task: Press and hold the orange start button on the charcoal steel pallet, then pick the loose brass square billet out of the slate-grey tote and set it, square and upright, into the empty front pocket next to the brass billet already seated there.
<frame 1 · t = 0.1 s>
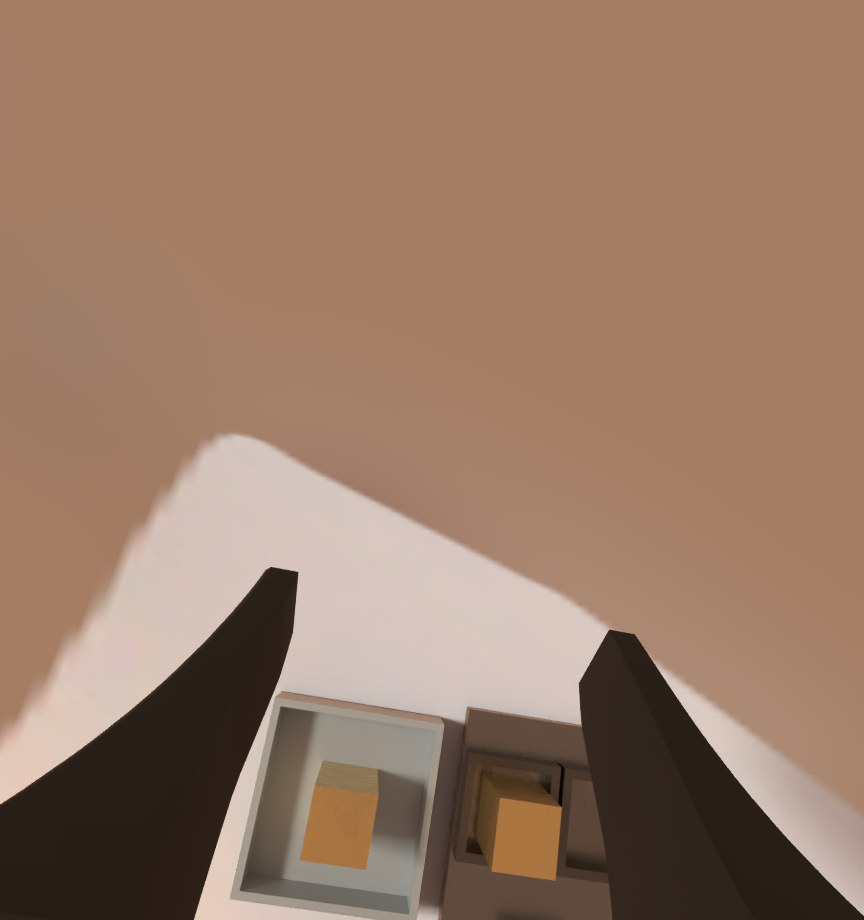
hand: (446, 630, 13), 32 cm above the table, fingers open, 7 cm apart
tote: (344, 792, 40), on the table
pallet: (541, 870, 40), on the table
billet: (344, 795, 39), point 1 cm above the table, touching tote
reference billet: (504, 805, 40), point 1 cm above the table, touching pallet
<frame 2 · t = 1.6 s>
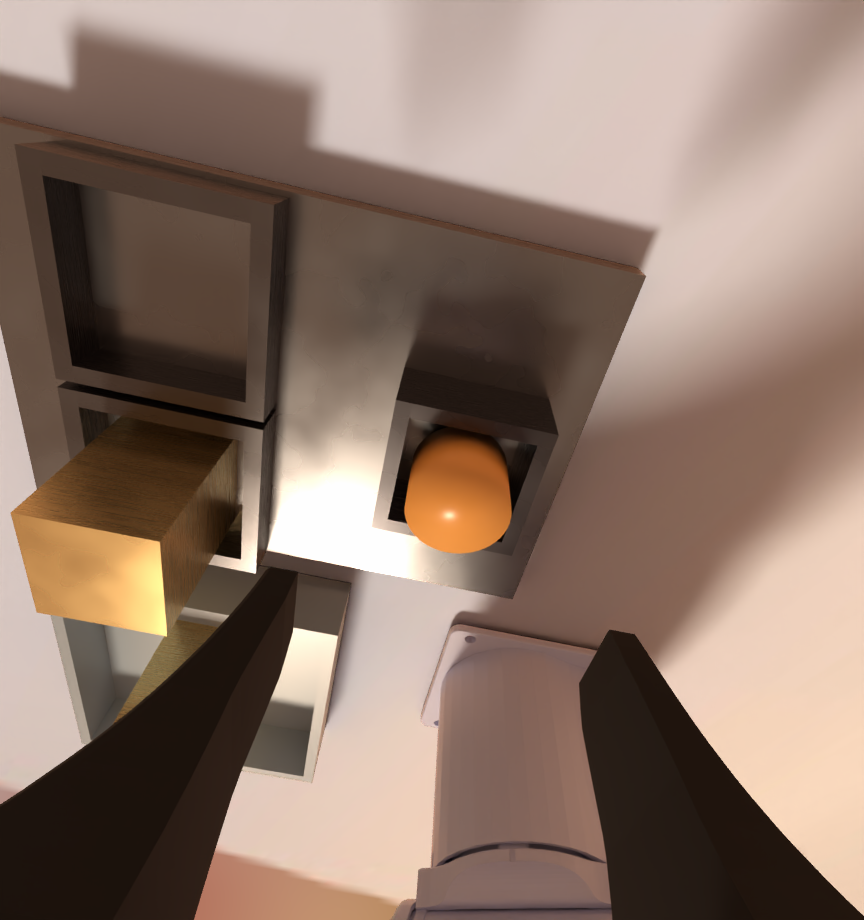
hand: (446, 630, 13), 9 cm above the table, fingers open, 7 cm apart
tote: (220, 643, 28), on the table
pallet: (302, 397, 20), on the table
billet: (215, 652, 28), point 1 cm above the table, touching tote
start button: (458, 489, 18), point 4 cm above the table, slide at 0.0 cm
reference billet: (184, 466, 21), point 1 cm above the table, touching pallet
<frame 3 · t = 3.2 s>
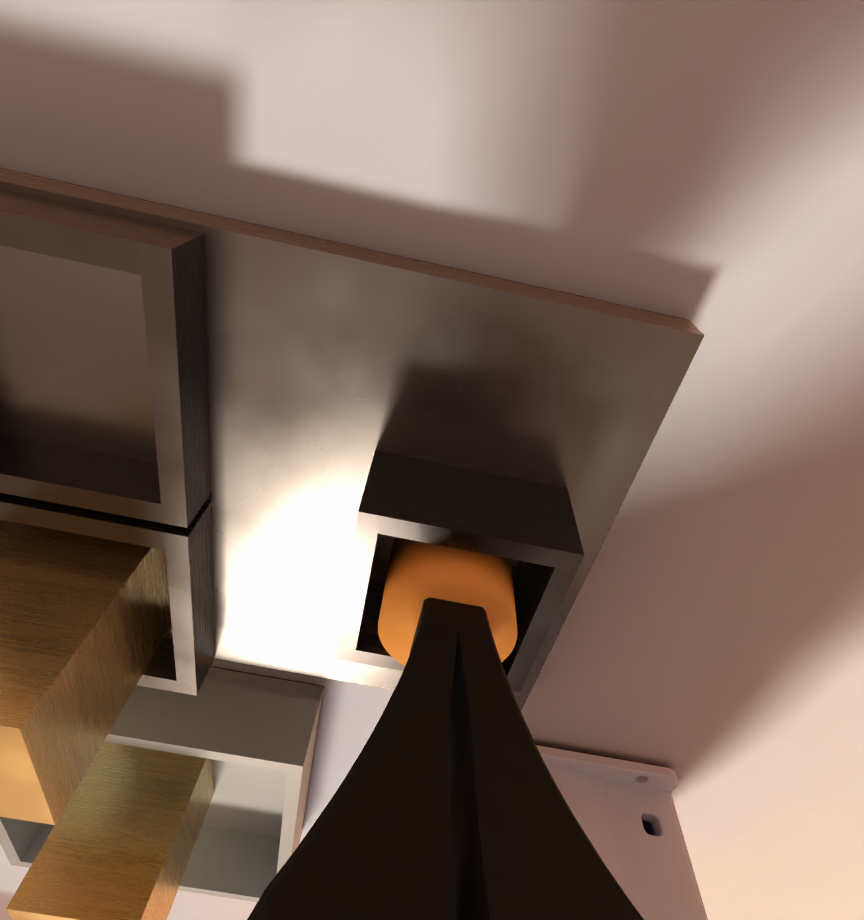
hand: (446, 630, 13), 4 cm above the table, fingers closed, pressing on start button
tote: (172, 746, 24), on the table
pallet: (247, 480, 16), on the table
billet: (166, 760, 23), point 1 cm above the table, touching tote
start button: (448, 593, 14), point 3 cm above the table, slide at 0.9 cm, touching gripper
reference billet: (102, 566, 17), point 1 cm above the table, touching pallet
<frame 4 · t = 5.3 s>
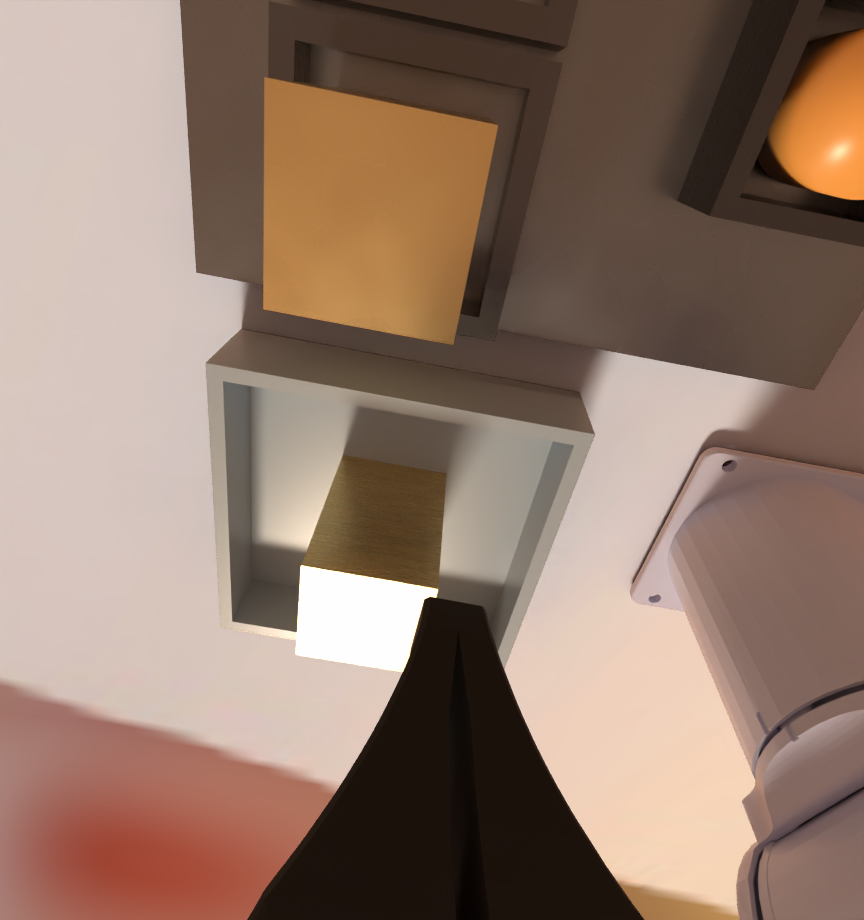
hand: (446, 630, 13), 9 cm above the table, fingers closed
tote: (390, 496, 23), on the table
pallet: (575, 67, 15), on the table
billet: (388, 505, 22), point 1 cm above the table, touching tote
start button: (852, 114, 12), point 3 cm above the table, slide at 1.0 cm
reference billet: (403, 187, 15), point 1 cm above the table, touching pallet
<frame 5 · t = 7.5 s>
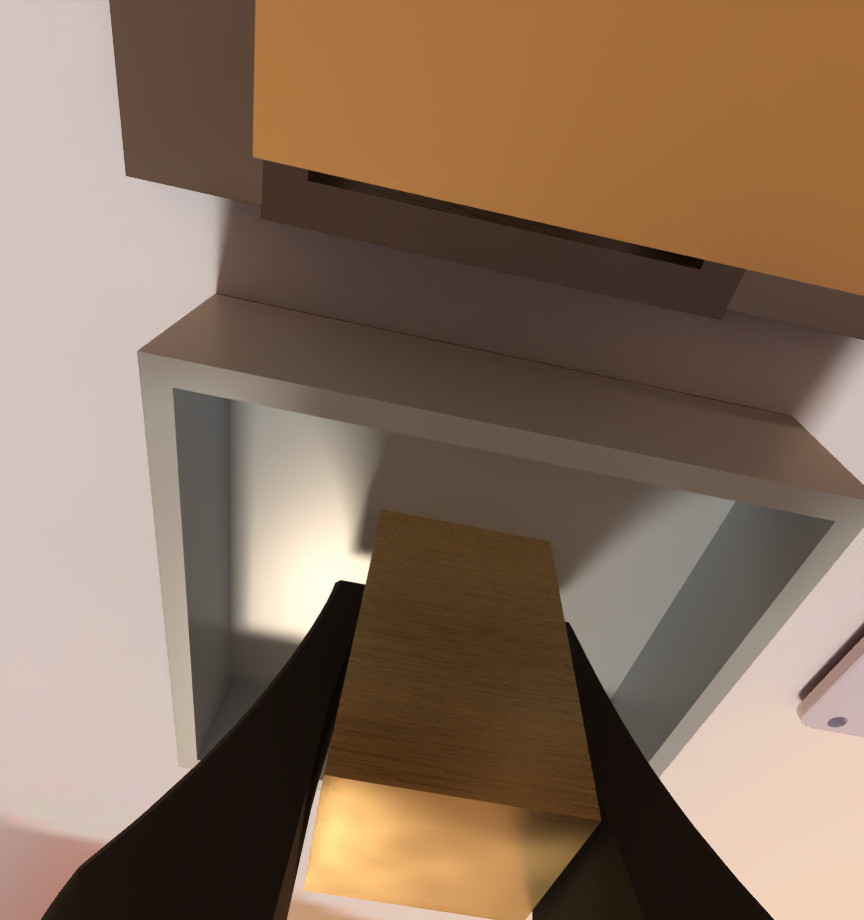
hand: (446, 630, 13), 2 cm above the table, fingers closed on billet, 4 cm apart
tote: (449, 568, 14), on the table
billet: (448, 585, 14), point 1 cm above the table, touching gripper, tote
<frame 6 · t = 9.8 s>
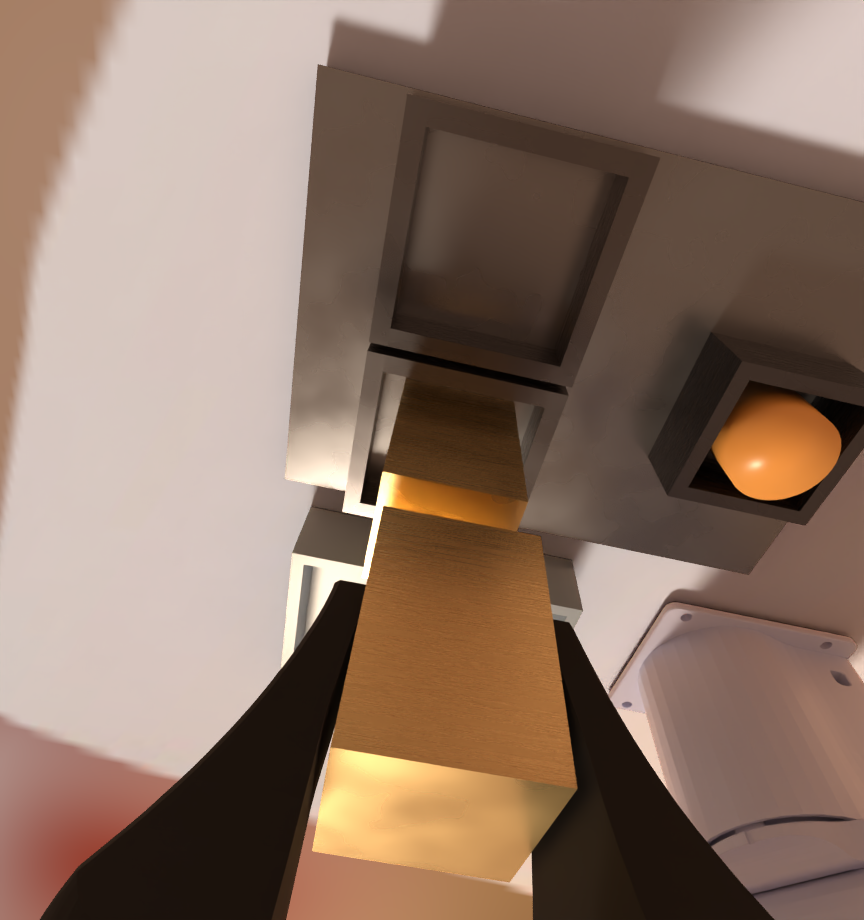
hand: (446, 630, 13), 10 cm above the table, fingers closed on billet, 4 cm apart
tote: (417, 622, 28), on the table
pallet: (577, 365, 20), on the table
billet: (445, 576, 15), point 8 cm above the table, touching gripper
start button: (765, 438, 18), point 3 cm above the table, slide at 1.0 cm
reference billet: (447, 437, 21), point 1 cm above the table, touching pallet
when the fingers open (3 cm above the table, at t = 12.0 s): billet stays where it is, resting on pallet.
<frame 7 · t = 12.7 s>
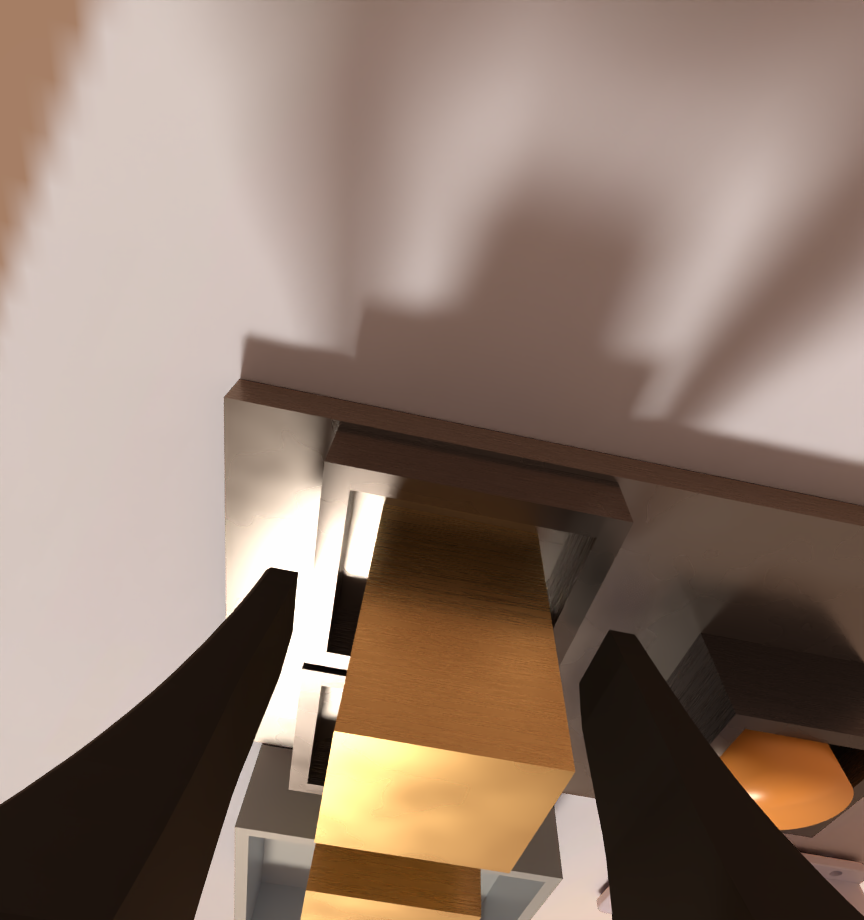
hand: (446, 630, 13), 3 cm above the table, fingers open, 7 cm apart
tote: (387, 836, 26), on the table
pallet: (549, 639, 18), on the table
billet: (445, 574, 15), point 1 cm above the table, touching pallet
start button: (765, 754, 16), point 3 cm above the table, slide at 1.0 cm
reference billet: (405, 709, 18), point 1 cm above the table, touching pallet
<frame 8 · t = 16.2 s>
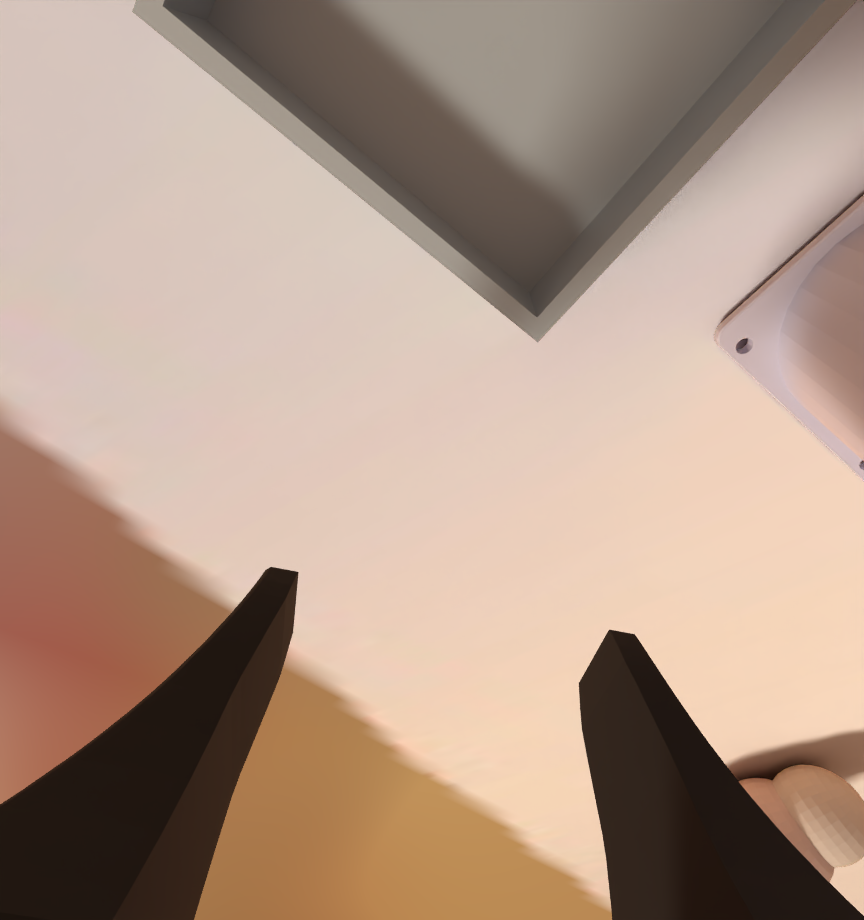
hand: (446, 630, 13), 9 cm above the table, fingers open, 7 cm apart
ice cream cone: (711, 793, 34), on the table
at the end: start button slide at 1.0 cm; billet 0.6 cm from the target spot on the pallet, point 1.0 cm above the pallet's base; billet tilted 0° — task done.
